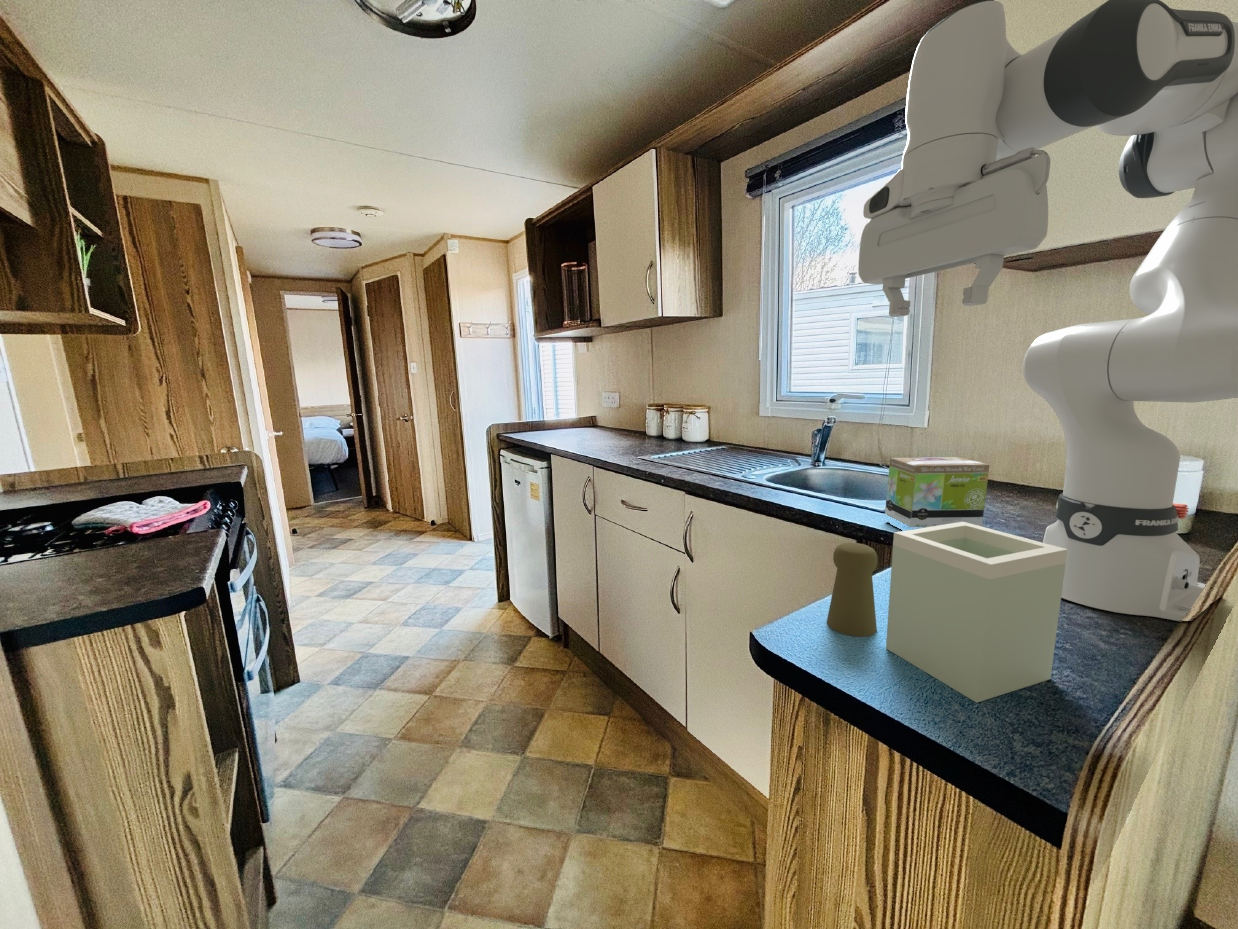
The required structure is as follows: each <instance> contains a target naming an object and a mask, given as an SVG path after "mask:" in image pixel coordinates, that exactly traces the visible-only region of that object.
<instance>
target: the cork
mask: <svg viewBox="0 0 1238 929" xmlns="http://www.w3.org/2000/svg"><path fill="white" fill-rule="evenodd" d="M832 556H833V557H832V560H833V563H834V564H833V565H834V566H835V567H836V574H835V577H834V583H833V587H832V588H833V589H832V594H831V599H830V604H829V607H828V608H829V609H828V614H827V618H826V624H827V626H828V627H829V628H830V629H832V630H834V631H835V632H837V633H839V634H842V635H846V636H849V637H858V638H865V637H866V638H867V637H870V636H873V635H875V634H876V633H877V632H878V630H877V629H878V627H877V616H876V605H875V596H874V580H873V572H874V571H875V570H876V569H877V566H878V564H879V562H878V554H877V552H876V550H875V549H874V548H872V546H869V545H867V544H865V543H858V542H845V543H840V544H838V545H837V546H836V547H835V549H834V550H833V555H832Z"/></svg>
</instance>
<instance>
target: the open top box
mask: <svg viewBox="0 0 1238 929" xmlns="http://www.w3.org/2000/svg"><path fill="white" fill-rule="evenodd" d="M892 541H893V542H892V552H891V554H892V556H891V569H890V570H891V571H890V581H889V583H890V585H889V586H890V587H889V596H888V610H887V611H888V612H887V613H888V614H887V626H886V628H887V629H886V639H885V649H886V650H888V651H890V652H892V653H893V654H895V655H896V656H898V657H900V658H901V659H903V660H905V661H906V662H908V663H910V664H912V665H914V667H916V668H917V669H920V670H921V671H923V672H925V673H926V674H928V675H929V676H930V677H933V678H935V679H936V680H938V681H940V682H941V683H943V684H944V685H946V686H949V688H952V689H953V690H955V691H956V692H957V693H960V694H961V695H963V696H965V697H966V698H968V699H969V700H971V701H973V702H974V703H976V704H977V703H980V702H983V701H987V700H989V699H992V698H996V697H998V696H1002V695H1005V694H1008V693H1011V692H1014V691H1017V690H1022V689H1025V688H1028V687H1030V686H1033V685H1037V684H1039V683H1042V682H1046V681H1048V680H1051V678H1052V671H1053V663H1054V656H1055V655H1054V654H1055V647H1056V640H1057V634H1058V633H1057V632H1058V624H1059V617H1060V610H1061V601H1062V598H1061V595H1062V588H1063V580H1064V572H1065V565H1066V557H1067V550H1068V549H1064V548H1061V547H1057V546H1053V545H1049V544H1046V543H1043V541H1037V540H1035V539H1029V538H1026V537H1023V536H1019V535H1015V534H1012V533H1008V532H1004V531H1000V530H996V529H993V528H988V527H985V526H983V525H982V526H978V525H974V524H970V523H967V522H957V523H951V524H944V525H938V526H932V527H925V528H919V529H913V530H906V531H901V530H899V531H896V532H893V540H892Z"/></svg>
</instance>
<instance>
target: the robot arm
mask: <svg viewBox="0 0 1238 929" xmlns="http://www.w3.org/2000/svg"><path fill="white" fill-rule="evenodd" d="M1006 29H1007V25H1006V14H1005V8H1004V5H1003V4H1002V3H1001V1H999V0H983V1H978V2H973V3H971V4H968V5H967V6H964V7H963V8H961V9H958V10H955V11H953V12H952V13H950V14H948V16H946V17H945V18H943V19H942V20H940V21H939V22H938V23H936V24H935V25H934V26H932V28H930V29H929V30H928V31H927V32H926V34H924V35H923V36H922V37H921V39H920V40H919V43H918V45H917V47H916V50H915V52H914V56H913V59H912V63H911V68H910V73H909V79H908V87H907V93H906V103H905V104H906V106H905V116H904V117H905V118H904V120H905V126H906V130H907V141H906V146H905V148H904V151H903V154H902V158H901V169H899V170H898V171H897V172H895V174H894V175H893V176H892V177H891V178H890V179H889V180H888V181H887V182H886V183H885V184H884V185H882V187H880V189H878V190H877V191H876V192H874V193H873V195H871V196H870V197H869V198H868V199H867V200H866V201H865V203H864V204H863V211H862V212H863V217H864V218H865V219H868V220H869V221H867V223H866V224H865V226H864V228H863V230H862V233H861V238H860V243H859V254H858V267H857V268H858V277H859V278H860V280H861V282H862V283H863V284H871V285H882V291H883V293H884V295H885V297H886V299H887V301H888V302H889V305H888V307H889V308H888V309H889V310H888V315H889V316H890V317H892V318H900V317H907V316H909V314H910V310H911V309H910V307H911V300H905V297H904V294H903V292H902V290H901V289H905V288H906V279H909V278H915V277H919V276H924V275H927V274H933V273H936V272H940V271H941V272H942V271H946V270H950V269H955V268H958V267H963V266H967V265H973V264H975V265H974V268H975V269H977V270H979V271H978V272H977V274H976V276H975V278H974V280H973V282H971V283H972V284H971V285H970V287H969V286H968V287H964V288H963V291H962V296H963V297H962V300H961V301H962V302H961V304H963V306H965V307H966V306H967V307H969V306H970V307H973V306H980V305H985V304H986V303H988V299H989V298H988V297H989V289H990V287H991V286H992V284H993V283H994V282H995V280H996V278H997V277H998V275H999V274H1000V273H1001V270H1002V269H1003V268H1004V258H1005V257H1007V256H1011V255H1016V254H1020V253H1024V252H1030V251H1033V250H1035V249H1037V248H1039V247H1040V245H1041V244H1042V242H1043V241H1044V240H1045V239H1046V237H1047V235H1048V229H1049V228H1048V227H1049V198H1048V187H1047V186H1048V185H1047V183H1048V181H1049V178H1050V169H1051V162H1052V161H1051V158H1050V155H1049V153H1048V152H1046V151H1045V150H1043V149H1042V148H1044V147H1046V146H1047V147H1048V146H1049V145H1052V144H1054V143H1056V142H1058V141H1061V140H1063V139H1066V138H1068V137H1071V136H1073V135H1076V134H1078V133H1081V132H1083V131H1085V130H1088V129H1091V128H1093V127H1096V128H1097V129H1098V130H1100V132H1102V133H1104V134H1108V135H1110V136H1111V135H1112V136H1117V137H1118V136H1119V137H1129V136H1130V137H1129V138H1128V141H1127V142H1126V144H1125V146H1124V148H1123V150H1122V152H1121V155H1120V158H1119V162H1118V175H1119V176H1118V177H1119V182H1120V184H1121V186H1122V188H1123V189H1124V190H1125V191H1126V192H1127V193H1129V194H1130V195H1131V196H1132V197H1134V198H1135V199H1151V198H1152V199H1153V198H1160V197H1161V198H1162V197H1165V196H1170V195H1172V194H1174V193H1175V192H1181V191H1186V190H1190V189H1194V191H1193V194H1192V197H1191V199H1190V201H1188V203H1187V204H1186V205H1185V206H1184V207H1183V208H1182V209H1181V210H1180V211H1179V212H1178V213H1177V214H1176V215H1175V216H1174V218H1173V219H1172V220H1171V221H1170V223H1169V224H1168V225H1167V227H1166V228H1165V229H1164V230H1163V231H1162V233H1161V235H1160V236H1159V238H1157V240H1156V242H1155V243H1154V245H1153V246H1152V248H1151V249H1150V251H1149V252H1148V253H1147V255H1146V256H1145V258H1144V259H1143V261H1142V262H1141V264H1139V266H1138V268H1137V270H1136V271H1135V272H1134V274H1133V276H1132V277H1131V280H1130V283H1129V297H1130V300H1131V302H1132V304H1133V305H1134V306H1135V307H1136V308H1137V309H1138V310H1140V311H1141V312H1142V313H1144V314H1145V315H1146V316H1143V317H1137V318H1129V319H1118V320H1108V321H1098V322H1089V323H1088V322H1087V323H1086V322H1085V323H1080V324H1075V325H1070V326H1067V327H1063V328H1060V329H1057V330H1056V329H1055V330H1053V331H1048V332H1045V333H1042V334H1041V335H1039V336H1038V337H1037V338H1035V340H1033V342H1032V343H1031V344H1030V346H1029V347H1028V349H1027V350H1026V352H1025V354H1024V358H1023V361H1022V374H1023V377H1024V380H1025V382H1026V383H1027V386H1028V387H1029V388H1030V389H1031V390H1032V391H1033V392H1034V393H1036V394H1037V395H1038V396H1040V397H1042V399H1044V400H1045V402H1047V404H1048V405H1049V406H1050V408H1051V409H1052V410H1053V412H1054V413H1055V414H1056V415H1055V416H1057V419H1058V420H1059V423H1060V424H1061V428H1062V430H1063V434H1064V438H1065V447H1066V450H1065V453H1066V454H1065V467H1064V468H1065V469H1064V483H1063V490H1062V491H1063V492H1061V493H1060V494H1059V495H1058V500H1057V501H1056V505H1055V506H1056V511H1055V513H1056V514H1055V517H1056V518H1057V520H1056V521H1055V522H1054V523H1051V524H1049V525H1048V526H1047V527H1046V528H1045V533H1044V537H1043V540H1042V543H1046V544H1049V545H1053V546H1057V547H1061V548H1064V549H1068V550H1067V557H1066V565H1065V572H1064V580H1063V588H1062V595H1061V599H1063V600H1067V601H1071V602H1073V603H1076V604H1079V605H1084V606H1086V607H1090V608H1094V609H1098V610H1104V611H1108V612H1113V613H1118V614H1126V615H1135V616H1146V617H1155V618H1160V619H1167V620H1169V621H1170V620H1171V621H1176V622H1181V621H1180V620H1181V619H1182V618H1183V617H1184V616H1185V615H1186V613H1188V611H1189V610H1190V608H1191V607H1192V605H1193V604H1194V602H1195V601H1196V599H1197V597H1199V595H1200V593H1201V592H1202V591H1203V588H1204V587H1205V585H1206V584H1205V583H1202V582H1199V581H1198V578H1199V571H1200V570H1199V569H1200V563H1201V562H1200V561H1201V559H1200V555H1199V553H1197V552H1196V551H1195V550H1194V549H1193V548H1192V547H1191V546H1190V545H1189V544H1188V543H1187V542H1186V541H1184V539H1183V538H1182V537H1181V536H1179V534H1178V533H1176V532H1178V531H1179V525H1178V524H1179V523H1178V522H1179V520H1180V519H1182V520H1183V519H1186V518H1187V515H1188V514H1189V513H1188V512H1189V510H1190V509H1189V506H1188V504H1183V503H1182V504H1181V503H1174V497H1175V492H1176V485H1177V480H1178V473H1179V467H1180V461H1181V454H1180V451H1179V449H1178V447H1177V446H1176V444H1175V442H1173V441H1172V440H1171V439H1170V438H1169V437H1168V436H1166V435H1164V434H1163V433H1160V432H1158V431H1157V430H1154V429H1151V428H1149V427H1147V426H1146V425H1145V424H1144V423H1143V422H1142V421H1141V420H1140V418H1139V417H1138V415H1137V413H1136V410H1135V405H1134V403H1135V402H1155V403H1158V402H1159V403H1160V402H1161V403H1192V404H1193V403H1194V404H1195V403H1203V402H1213V401H1222V400H1231V399H1237V398H1238V22H1235V21H1232V20H1231V19H1230V18H1229V17H1228V16H1227V15H1226V14H1223V13H1222V12H1219V11H1218V12H1217V11H1212V10H1211V11H1209V10H1193V9H1190V10H1189V9H1176V8H1171V7H1169V6H1168V5H1167V3H1164V2H1163V1H1162V0H1106V1H1105V2H1103V3H1102V4H1100V5H1099V6H1098V7H1096V8H1095V9H1093V10H1092V11H1090V12H1089V13H1087V14H1086V15H1084V16H1082V17H1081V18H1080V19H1079V20H1077V21H1076V22H1074V23H1073V24H1071V26H1069V27H1068V28H1066V29H1063V31H1060V32H1058V33H1057V34H1056V35H1054V36H1052V37H1051V38H1049V39H1047V40H1046V41H1044V42H1042V43H1040V44H1038V45H1036V46H1035V47H1033V48H1032V49H1030V50H1029V51H1027V52H1026V53H1023V54H1021V53H1020V52H1019V51H1017V50H1016V49H1015V48H1014V47H1013V46H1012V45H1011V43H1010V42H1009V40H1008V38H1007V30H1006Z"/></svg>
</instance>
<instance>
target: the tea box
mask: <svg viewBox="0 0 1238 929" xmlns="http://www.w3.org/2000/svg"><path fill="white" fill-rule="evenodd" d="M888 466H889V467H888V475H887V476H888V479H887V487H886V488H887V490H886V497H885V511H884V515H885V514H887V515H888V516H890V517H892V518H894V519H896V520H898V521H900V522H902V523H903V524H906V525H907V526H909V527H923V528H924V527H932V526H938V525H944V524H951V523H957V522H967V523H970V524H974V525H978V526H982V527H983V521H984V514H985V505H986V496H987V490H988V489H987V487H988V479H989V472H990V463H989V464H988V463H985V462H984V463H983V462H981V461H976V460H971V459H969V458H968V459H967V458H964V457H958V456H947V457H945V456H937V457H936V456H935V457H934V456H932V457H930V456H929V457H927V456H923V457H890V459H889V465H888Z"/></svg>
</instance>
